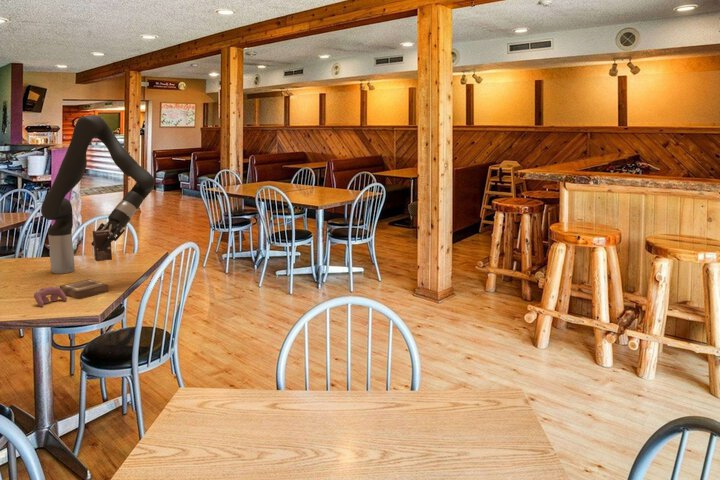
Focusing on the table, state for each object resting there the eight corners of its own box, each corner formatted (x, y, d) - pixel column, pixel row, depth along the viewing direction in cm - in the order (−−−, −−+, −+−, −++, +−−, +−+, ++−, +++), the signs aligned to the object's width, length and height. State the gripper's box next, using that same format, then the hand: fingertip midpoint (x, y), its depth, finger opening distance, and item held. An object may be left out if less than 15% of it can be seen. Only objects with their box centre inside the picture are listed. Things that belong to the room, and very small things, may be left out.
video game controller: (63, 303, 203) (57, 285, 203) (68, 300, 200) (62, 282, 201) (36, 309, 195) (30, 291, 195) (41, 306, 192) (35, 288, 193)
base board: (60, 293, 210) (59, 285, 209) (89, 286, 220) (88, 278, 219) (78, 299, 203) (78, 290, 202) (108, 291, 213) (107, 283, 212)
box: (96, 262, 213) (94, 232, 211) (94, 259, 217) (92, 230, 214) (112, 260, 217) (110, 230, 214) (110, 258, 220) (108, 229, 218)
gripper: (105, 206, 223) (80, 239, 215) (127, 209, 215) (101, 243, 208) (118, 217, 228) (94, 249, 221) (139, 221, 221) (115, 254, 213)
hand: (98, 246), depth 214 cm, fingers closed on box, 5 cm apart
